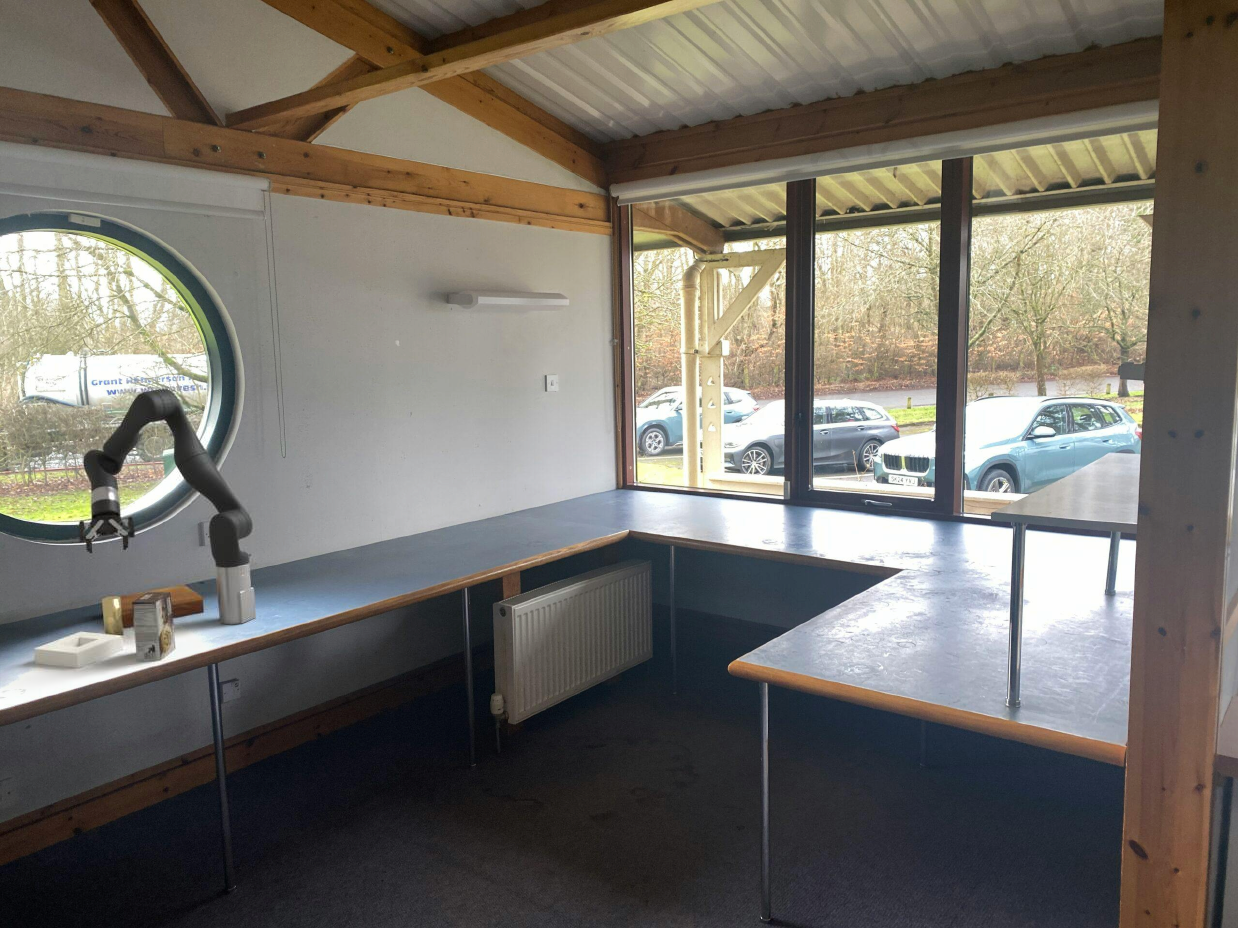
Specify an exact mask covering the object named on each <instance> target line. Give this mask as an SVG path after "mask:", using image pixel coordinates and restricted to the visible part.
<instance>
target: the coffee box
mask: <svg viewBox="0 0 1238 928" xmlns="http://www.w3.org/2000/svg"><path fill="white" fill-rule="evenodd" d="M132 608H133V619H134V626H133V629H134V637H135V638H134V639H135V641H134V642H135V652H136V661H137V662H147V661H148V660H159V661H162V660H163V659H164V658H166V657H167V656H168V655H169V654H171V653H172V652H173V651H174V650H175V649H176V640H175V639H176V638H175V628H174V618H173V614H172V603H171V592H148V593H146V594H144V595H143V596H141V597H139V598H138V599H136V600H135V601H133V602H132ZM165 656H166V657H165ZM148 662H149V661H148Z"/></svg>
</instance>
